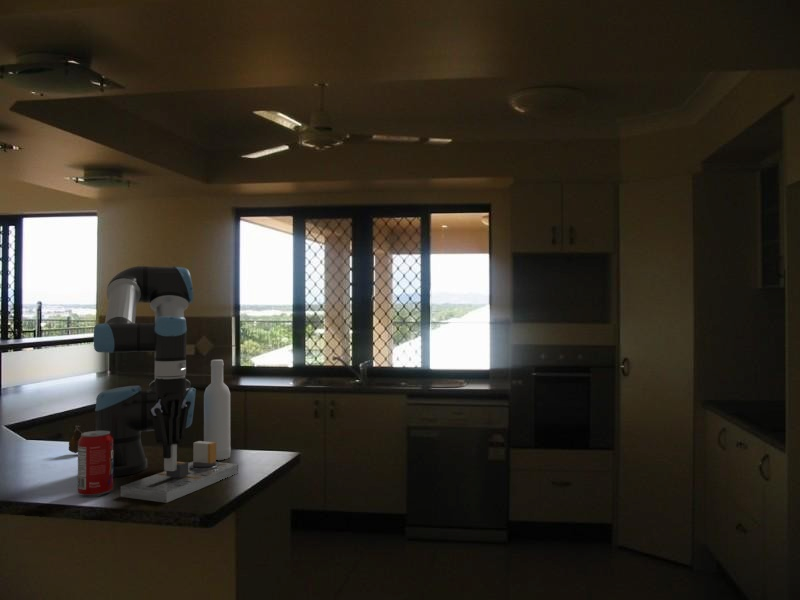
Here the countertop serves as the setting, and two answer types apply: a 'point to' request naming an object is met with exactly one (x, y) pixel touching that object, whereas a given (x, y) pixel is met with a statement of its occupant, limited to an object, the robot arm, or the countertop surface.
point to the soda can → (95, 463)
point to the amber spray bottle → (75, 440)
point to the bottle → (217, 412)
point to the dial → (204, 454)
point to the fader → (179, 471)
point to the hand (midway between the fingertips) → (170, 470)
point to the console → (177, 483)
